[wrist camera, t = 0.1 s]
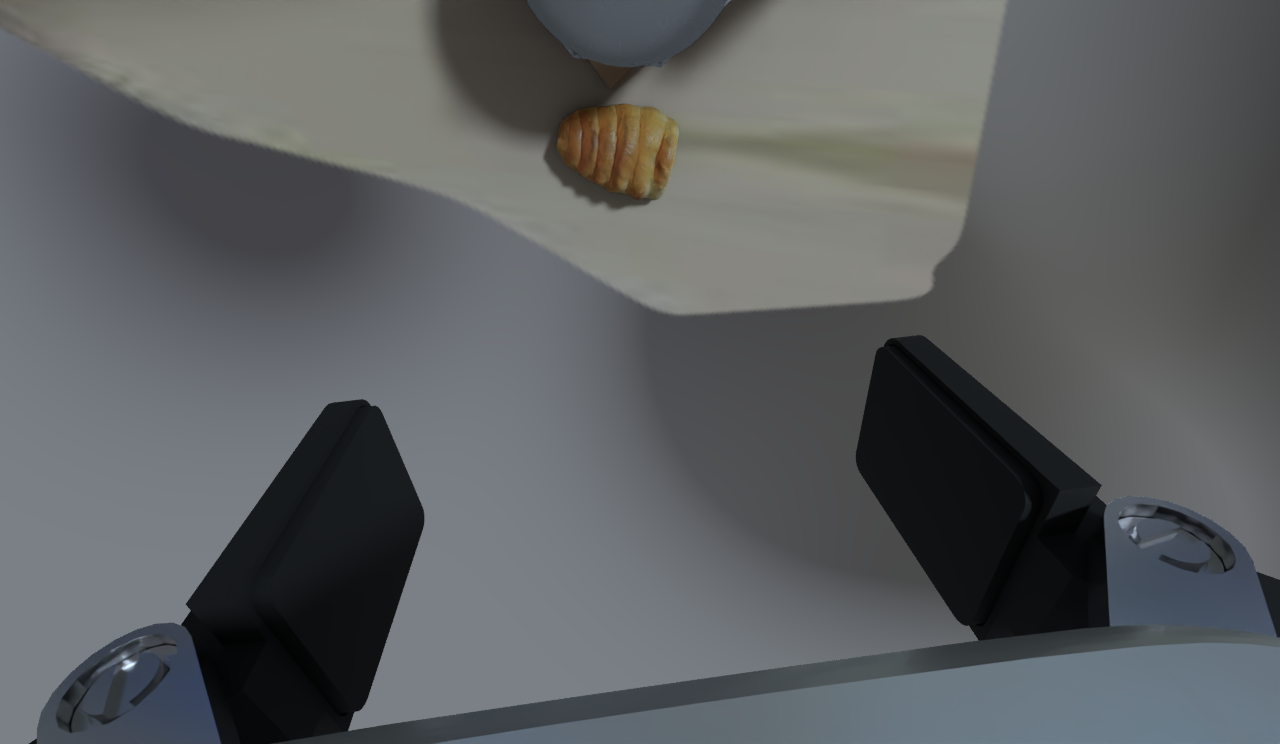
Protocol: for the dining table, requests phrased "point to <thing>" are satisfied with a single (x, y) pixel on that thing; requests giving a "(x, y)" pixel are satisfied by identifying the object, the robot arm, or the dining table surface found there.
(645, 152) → the pastry
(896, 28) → the dining table surface
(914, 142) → the dining table surface
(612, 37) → the grey round part
